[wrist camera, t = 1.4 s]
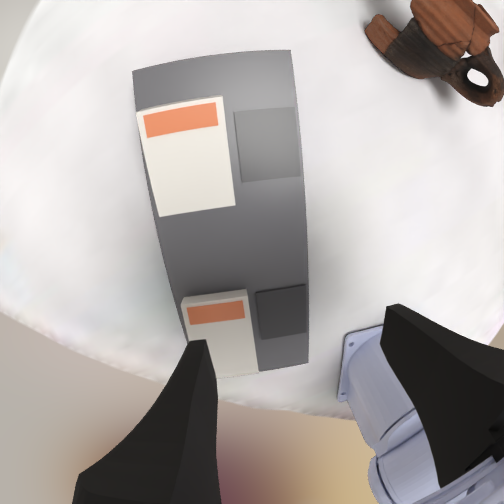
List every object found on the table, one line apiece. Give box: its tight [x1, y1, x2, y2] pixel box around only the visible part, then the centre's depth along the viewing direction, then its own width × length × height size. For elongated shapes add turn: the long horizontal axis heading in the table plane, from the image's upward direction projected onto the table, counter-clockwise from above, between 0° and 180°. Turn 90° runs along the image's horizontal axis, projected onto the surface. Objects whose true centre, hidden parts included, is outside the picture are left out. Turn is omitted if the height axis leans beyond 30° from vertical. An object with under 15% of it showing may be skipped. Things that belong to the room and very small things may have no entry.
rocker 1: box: [136, 95, 235, 217], centre depth 12 cm, size 5×4×2 cm
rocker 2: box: [181, 289, 259, 379], centre depth 16 cm, size 5×4×2 cm
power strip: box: [132, 50, 309, 372], centre depth 17 cm, size 20×8×3 cm, turn 6°
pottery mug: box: [365, 0, 504, 107], centre depth 12 cm, size 12×10×8 cm
